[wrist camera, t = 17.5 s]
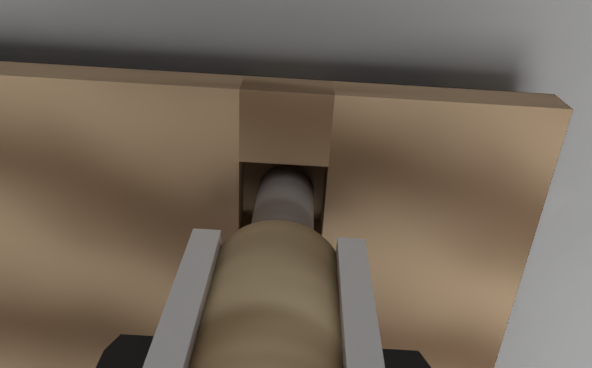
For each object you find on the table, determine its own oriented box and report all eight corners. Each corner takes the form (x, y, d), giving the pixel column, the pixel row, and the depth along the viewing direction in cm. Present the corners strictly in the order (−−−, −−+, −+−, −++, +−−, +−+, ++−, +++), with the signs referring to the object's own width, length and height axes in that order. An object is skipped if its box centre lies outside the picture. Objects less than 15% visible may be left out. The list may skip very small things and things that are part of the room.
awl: (331, 235, 20) (348, 598, 10) (236, 228, 20) (150, 584, 10) (340, 147, 19) (373, 471, 8) (237, 141, 19) (134, 456, 8)
